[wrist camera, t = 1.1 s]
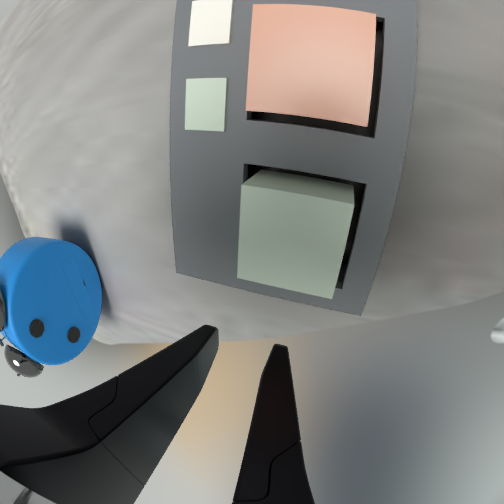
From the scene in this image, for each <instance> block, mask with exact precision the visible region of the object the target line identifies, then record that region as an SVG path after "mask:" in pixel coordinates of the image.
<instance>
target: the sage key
mask: <svg viewBox="0 0 504 504" xmlns="http://www.w3.org/2000/svg"><path fill="white" fill-rule="evenodd" d="M353 209H354V189H353V185H349V184H344V183H339V182H334V181H329V180H323V179H318V178H312V177H306V176H300V175H294V174H288V173H282V172H275V171H268V170H260V171H259V172H257V173H256V174H255V175H253V176H252V177H251V178H250V179H248V180H247V181H246V182H244V183H243V184H242V185H241V203H240V223H239V245H238V268H237V278H240V279H244V280H248V281H253V282H257V283H261V284H266V285H270V286H274V287H279V288H283V289H288V290H292V291H297V292H301V293H306V294H310V295H315V296H320V297H324V298H329V299H332V298H333V294H334V290H335V286H336V283H337V279H338V275H339V271H340V267H341V263H342V259H343V255H344V250H345V246H346V242H347V237H348V233H349V228H350V224H351V219H352V214H353Z"/></svg>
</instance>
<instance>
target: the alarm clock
mask: <svg viewBox="0 0 504 504" xmlns="http://www.w3.org/2000/svg"><path fill="white" fill-rule="evenodd" d="M101 306H102V290H101V283H100V278H99V275H98V272H97V269H96V267H95V265H94V263H93V261H92V259H91V258H90V257H89V255H88V254H87V253H86V252H85V251H84V250H83V249H82V248H80V247H79V246H77V245H75V244H73V243H71V242H68V241H63V240H56V239H49V238H42V237H31V238H27V239H23V240H21V241H19V242H17V243H15V244H14V245H13V246H11V247H10V248H9V249H8V250H7V251H6V252H5V253H4V254H3V256H2V257H1V259H0V332H1V333H2V334H3V336H4V338H6V339H7V340H8V341H9V342H10V343H12V344H13V345H14V346H15V347H17V348H18V349H19V350H21V351H22V352H23V353H22V352H21V351H19V350H17V349H15V348H13V347H11V346H9V345H6V346H5V358H6V361H7V363H8V364H9V366H10V367H11V368H12V369H13V370H14V371H15V372H17V373H18V374H17V375H18V376H20V375H22V376H24V377H36V376H38V375H40V374H41V373H42V371H43V368H44V366H43V365H41V364H40V363H42V364H46V365H59V364H63V363H66V362H68V361H70V360H72V359H73V358H75V357H76V356H77V355H79V354H80V353H81V352H82V351H83V350H84V349H85V347H86V346H87V345H88V343H89V342H90V340H91V339H92V337H93V335H94V333H95V330H96V328H97V325H98V322H99V318H100V313H101ZM4 338H3V339H4ZM3 339H2V340H3ZM2 340H1V339H0V345H1V346H3V345H4V344H3V342H2Z"/></svg>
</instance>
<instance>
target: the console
mask: <svg viewBox="0 0 504 504" xmlns="http://www.w3.org/2000/svg"><path fill="white" fill-rule="evenodd" d="M253 4H298V5H314V6H326V7H335V8H343V9H350V10H357V11H363V12H368V13H373V14H376V21H379V22H383V41H382V59H381V72H380V84H379V94H378V103H377V112H376V120H375V127H374V135H373V137H370V136H365V135H360V134H355V133H350V132H344V131H339V130H333V129H327V128H321V127H314V126H307V125H300V124H292V123H284V122H275V121H265V120H253V119H251V112H252V111H246V96H247V81H248V66H249V51H250V37H251V23H252V10H253ZM417 33H418V12H417V0H177V5H176V14H175V24H174V36H173V50H172V66H171V89H170V182H171V206H172V225H173V240H174V253H175V265H176V273H180V274H184V275H187V276H191V277H195V278H199V279H203V280H207V281H211V282H215V283H218V284H222V285H226V286H230V287H235V288H239V289H243V290H247V291H251V292H255V293H259V294H264V295H268V296H272V297H276V298H281V299H285V300H289V301H294V302H298V303H303V304H307V305H312V306H316V307H321V308H326V309H330V310H335V311H340V312H345V313H350V314H355V315H360V316H361V314H362V311H363V309H364V306H365V303H366V300H367V297H368V295H369V292H370V289H371V286H372V283H373V280H374V277H375V273H376V270H377V267H378V264H379V261H380V257H381V254H382V251H383V247H384V244H385V240H386V236H387V233H388V229H389V225H390V221H391V218H392V214H393V210H394V205H395V201H396V197H397V192H398V188H399V183H400V179H401V174H402V169H403V164H404V158H405V153H406V147H407V141H408V135H409V128H410V121H411V114H412V106H413V97H414V87H415V75H416V60H417ZM248 164H253V165H261V166H268V167H275V168H282V169H289V170H295V171H301V172H307V173H313V174H319V175H324V176H330V177H335V178H340V179H345V180H350V181H355V182H360V183H365V188H364V194H363V199H362V203H361V208H360V213H359V218H358V222H357V227H356V231H355V235H354V240H353V244H352V248H351V252H350V256H349V260H348V264H347V265H346V264H342V263H341V267H340V271H339V275H338V279H337V283H336V286H335V290H334V294H333V298H332V299H329V298H324V297H320V296H315V295H310V294H306V293H301V292H297V291H292V290H288V289H283V288H279V287H274V286H270V285H266V284H261V283H257V282H253V281H248V280H244V279H240V278H237V268H238V245H239V223H240V203H241V185H242V184H243V183H244V182H246V181H247V177H248Z"/></svg>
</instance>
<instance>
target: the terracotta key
mask: <svg viewBox="0 0 504 504" xmlns="http://www.w3.org/2000/svg"><path fill="white" fill-rule="evenodd" d="M375 36H376V14H373V13H368V12H363V11H357V10H350V9H343V8H335V7H326V6H314V5H298V4H253V10H252V23H251V37H250V51H249V66H248V81H247V96H246V111H258V112H270V113H280V114H289V115H298V116H305V117H313V118H320V119H326V120H332V121H338V122H344V123H349V124H355V125H360V126H365V127H367V126H368V118H369V110H370V101H371V91H372V81H373V69H374V55H375Z"/></svg>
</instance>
